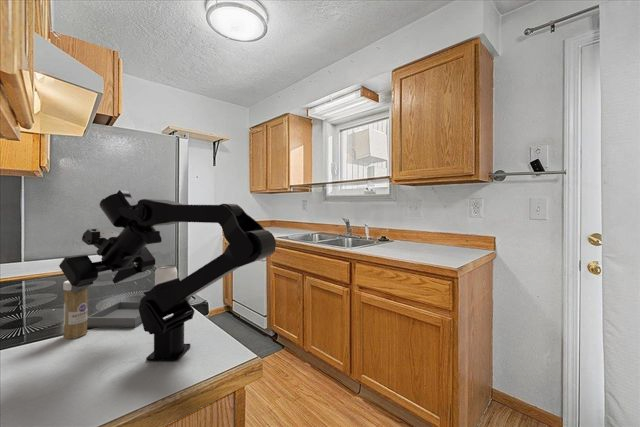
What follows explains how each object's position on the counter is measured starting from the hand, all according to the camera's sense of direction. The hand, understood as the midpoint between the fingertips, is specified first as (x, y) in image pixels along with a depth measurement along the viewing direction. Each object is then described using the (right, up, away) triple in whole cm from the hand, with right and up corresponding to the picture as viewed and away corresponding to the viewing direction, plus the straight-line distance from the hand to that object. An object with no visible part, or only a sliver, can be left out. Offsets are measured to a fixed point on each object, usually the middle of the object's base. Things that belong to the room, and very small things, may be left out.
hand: (94, 286), depth 67 cm
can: (+2, -12, +27) cm, 29 cm away
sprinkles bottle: (-6, -13, +2) cm, 14 cm away
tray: (-1, -12, +13) cm, 18 cm away
